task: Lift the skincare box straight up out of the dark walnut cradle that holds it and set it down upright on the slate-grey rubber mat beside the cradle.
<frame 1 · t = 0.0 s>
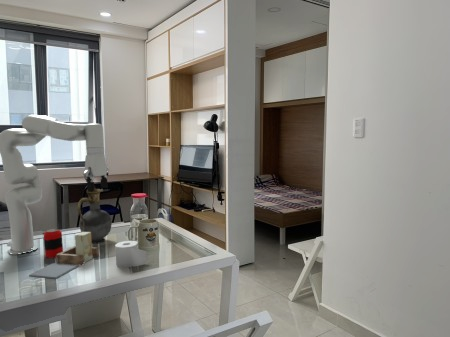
hand: (98, 189, 159), 31 cm above the table, tool pointing down, fingers open, 9 cm apart
grey mat: (54, 271, 145), on the table
pitcher: (95, 242, 184), on the table
skincare box: (84, 260, 158), resting in walnut cradle
toilet tissue: (130, 264, 152), on the table
soda can: (54, 255, 166), on the table
walnut cradle: (84, 260, 158), on the table
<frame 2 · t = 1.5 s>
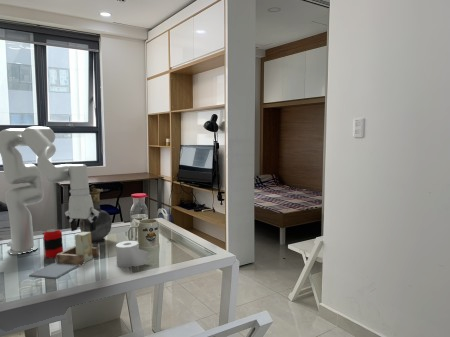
hand: (83, 230, 156), 14 cm above the table, tool pointing down, fingers open, 9 cm apart
nothing on the table moved.
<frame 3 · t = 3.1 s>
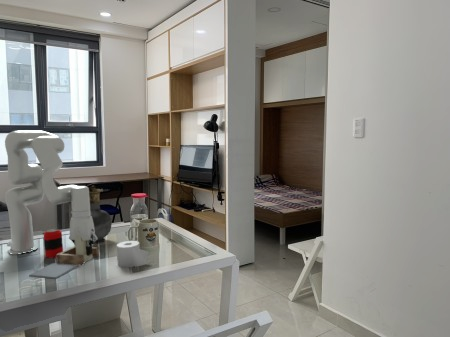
hand: (84, 253, 158), 3 cm above the table, tool pointing down, fingers closed on skincare box, 4 cm apart
skincare box: (84, 260, 158), resting in walnut cradle, touching gripper
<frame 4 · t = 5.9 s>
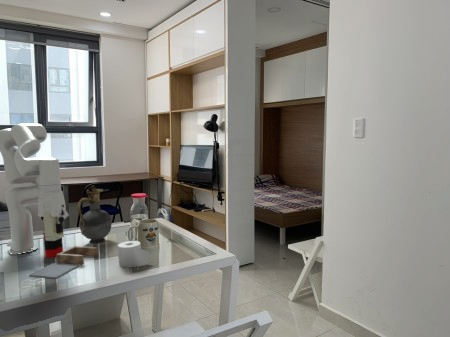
hand: (54, 231, 145), 16 cm above the table, tool pointing down, fingers closed on skincare box, 4 cm apart
skincare box: (55, 239, 145), point 13 cm above the table, touching gripper
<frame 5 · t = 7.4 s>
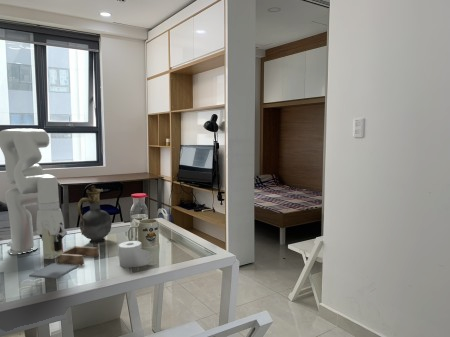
hand: (52, 249, 144), 9 cm above the table, tool pointing down, fingers closed on skincare box, 4 cm apart
skincare box: (53, 256, 145), point 6 cm above the table, touching gripper
when the fingers open (5 cm above the table, at t = 8.6 s): skincare box drops 1 cm, resting on grey mat.
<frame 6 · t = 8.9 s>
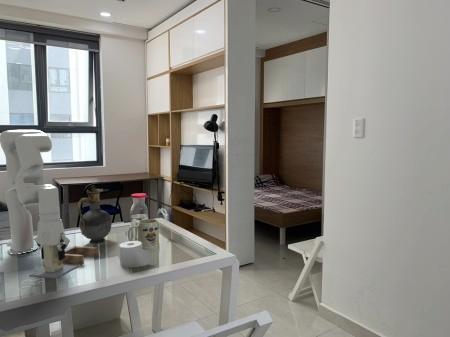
hand: (53, 258, 145), 5 cm above the table, tool pointing down, fingers open, 7 cm apart
skincare box: (54, 270, 146), resting on grey mat
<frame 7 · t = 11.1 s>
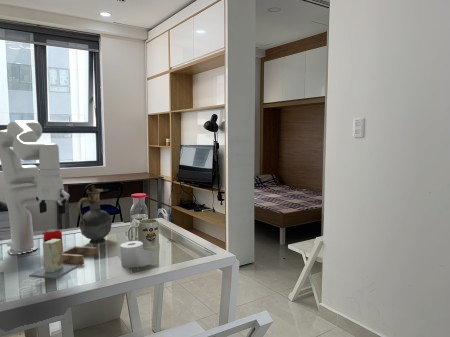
hand: (52, 213, 149), 23 cm above the table, tool pointing down, fingers open, 9 cm apart
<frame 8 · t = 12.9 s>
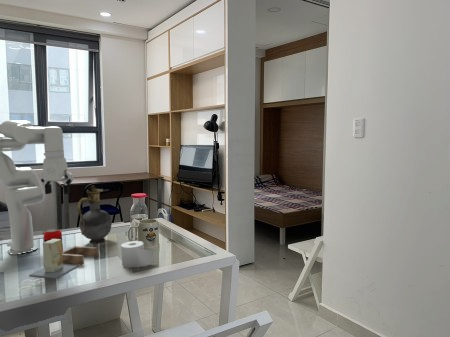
hand: (57, 193, 156), 30 cm above the table, tool pointing down, fingers open, 9 cm apart
at the end: skincare box inside the target area on the grey mat (0.1 cm from its centre), point 0.4 cm above the grey mat's base; skincare box tilted 0°; the gripper is holding nothing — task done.
